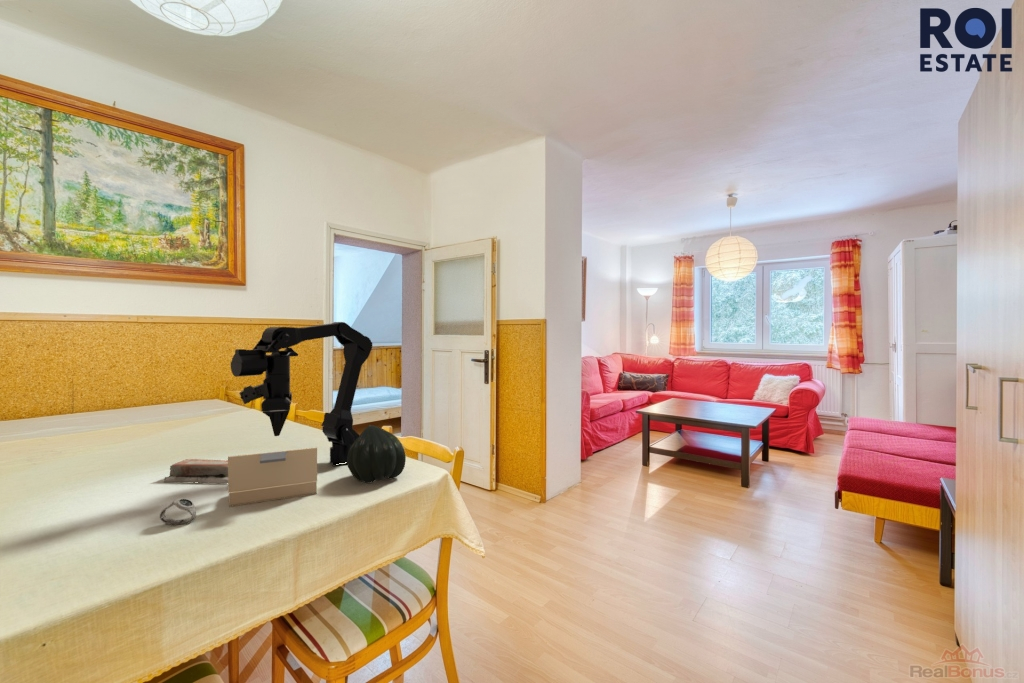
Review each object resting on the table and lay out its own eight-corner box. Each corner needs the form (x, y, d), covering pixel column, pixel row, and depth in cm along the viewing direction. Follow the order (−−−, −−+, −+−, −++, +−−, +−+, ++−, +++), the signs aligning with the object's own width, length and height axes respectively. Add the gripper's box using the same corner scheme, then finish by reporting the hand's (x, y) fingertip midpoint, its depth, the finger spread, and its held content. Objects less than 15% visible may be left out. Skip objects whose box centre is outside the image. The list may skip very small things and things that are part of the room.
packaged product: (161, 466, 110) (192, 455, 120) (161, 484, 110) (192, 472, 120) (228, 467, 109) (253, 456, 119) (228, 485, 110) (253, 473, 119)
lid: (317, 447, 103) (317, 454, 98) (317, 479, 103) (317, 488, 98) (228, 456, 95) (224, 464, 90) (228, 491, 95) (224, 501, 90)
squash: (409, 465, 108) (403, 415, 117) (347, 474, 103) (345, 421, 112) (405, 488, 118) (399, 440, 127) (348, 497, 113) (346, 446, 122)
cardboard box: (315, 483, 110) (315, 472, 110) (316, 493, 103) (316, 481, 103) (234, 494, 102) (234, 482, 102) (229, 506, 95) (229, 493, 95)
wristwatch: (190, 525, 86) (190, 501, 86) (156, 528, 84) (155, 503, 84) (200, 518, 89) (199, 495, 89) (166, 521, 88) (166, 497, 88)
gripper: (246, 372, 117) (246, 428, 117) (236, 378, 100) (237, 443, 100) (291, 370, 121) (291, 424, 122) (289, 376, 105) (289, 438, 105)
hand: (277, 432), depth 112 cm, fingers open, 9 cm apart
